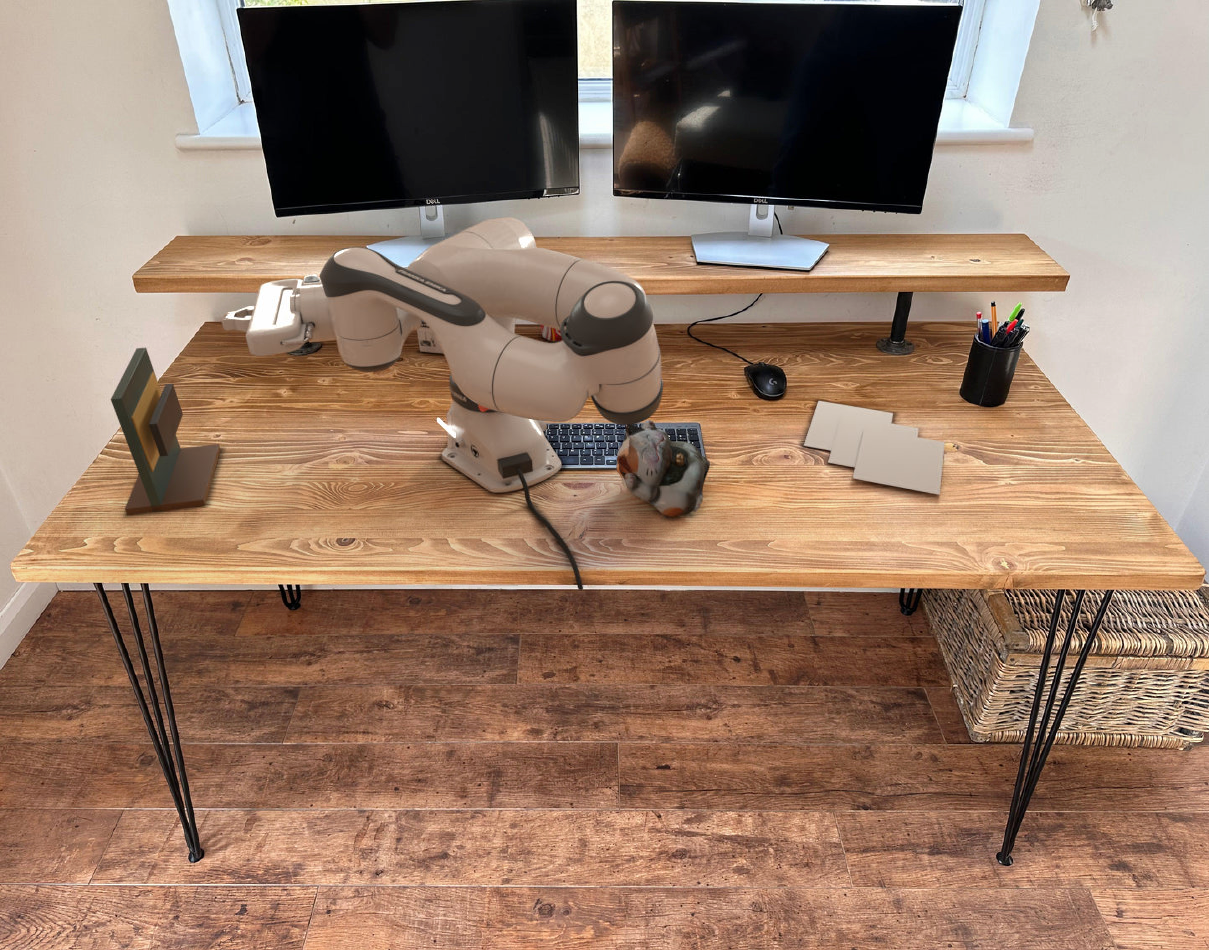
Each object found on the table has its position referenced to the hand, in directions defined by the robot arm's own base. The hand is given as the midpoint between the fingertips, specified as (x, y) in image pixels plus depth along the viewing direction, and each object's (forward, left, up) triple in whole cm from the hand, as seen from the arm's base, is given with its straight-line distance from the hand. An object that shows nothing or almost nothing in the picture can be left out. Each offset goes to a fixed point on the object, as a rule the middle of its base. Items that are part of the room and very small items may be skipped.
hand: (223, 321), depth 136 cm
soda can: (+15, -68, -28) cm, 75 cm away
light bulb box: (+27, -46, -28) cm, 61 cm away
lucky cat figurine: (-45, -52, -28) cm, 74 cm away
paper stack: (-54, -92, -28) cm, 110 cm away
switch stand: (+6, +14, -28) cm, 32 cm away
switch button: (+5, +12, -19) cm, 23 cm away
